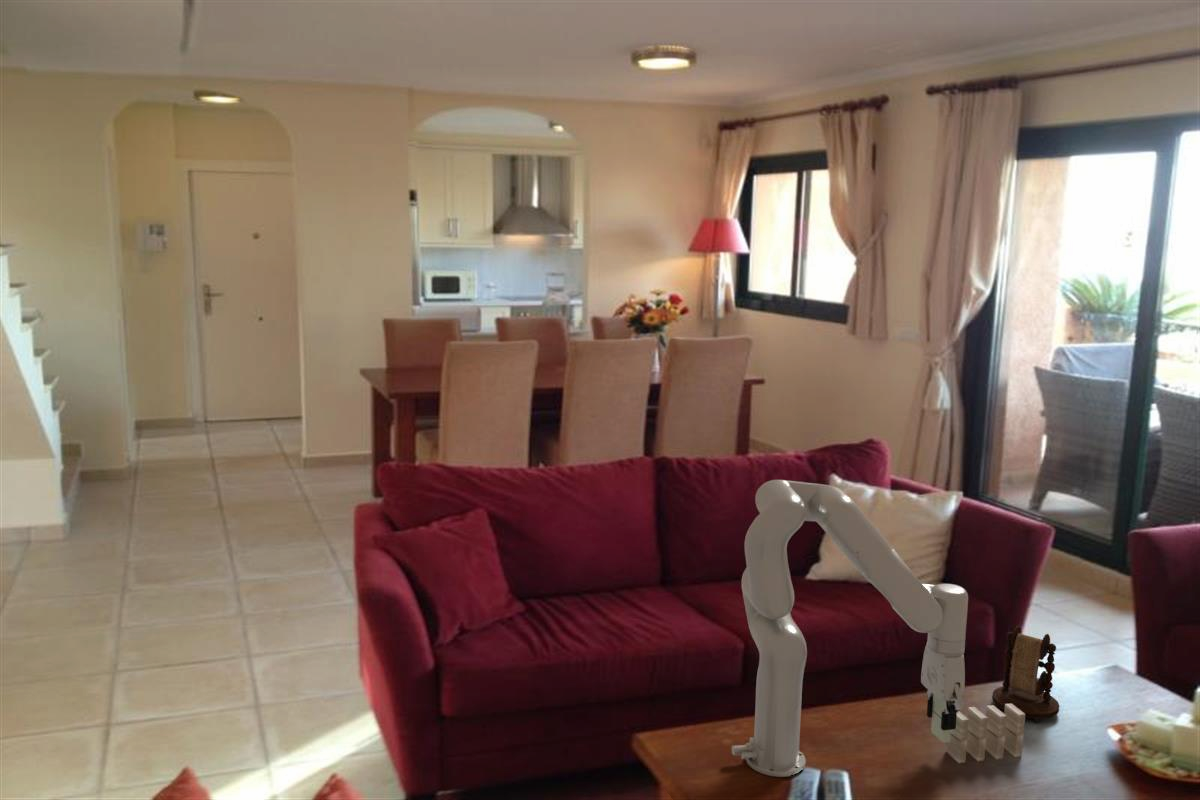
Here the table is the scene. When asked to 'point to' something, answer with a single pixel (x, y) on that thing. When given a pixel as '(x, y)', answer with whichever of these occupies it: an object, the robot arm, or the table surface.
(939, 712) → the domino
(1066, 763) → the table surface
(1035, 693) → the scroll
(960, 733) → the domino
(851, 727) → the table surface
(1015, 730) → the domino
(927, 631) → the robot arm
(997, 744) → the domino
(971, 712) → the domino
